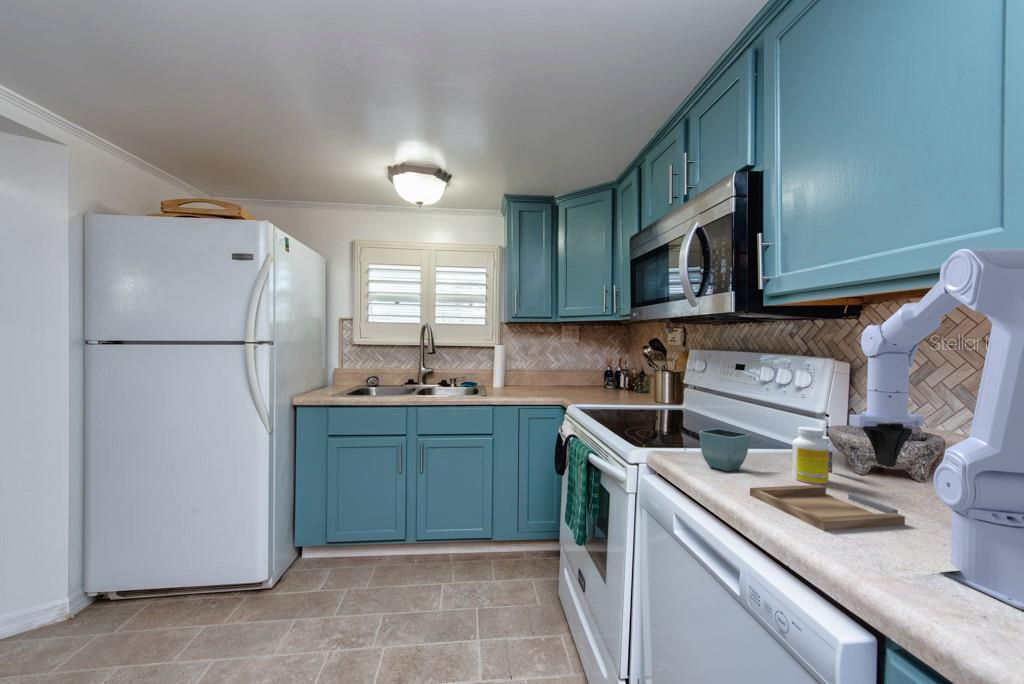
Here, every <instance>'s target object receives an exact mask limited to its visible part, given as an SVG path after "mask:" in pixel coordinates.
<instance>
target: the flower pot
mask: <svg viewBox="0 0 1024 684" xmlns="http://www.w3.org/2000/svg"><path fill="white" fill-rule="evenodd" d="M698 434H699V443H700V451H701V454H702V457H703V459H704V461H705V462H706V464H707V465H708V467H710V468H712V467H713V468H714V469H716V470H717V469H718V470H721V471H723V472H731V471H736V470H739V469H740V468H741V466H742V465H743V463H744V462H745V460H746V458H747V456H748V455H747V454H748V451H749V446H750V445H749V444H750V441H751V440H750V439H751V434H748V433H744V432H738V431H733V430H727V429H723V428H722V429H721V428H712V429H706V430H699V431H698Z"/></svg>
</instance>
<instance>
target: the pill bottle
mask: <svg viewBox="0 0 1024 684" xmlns="http://www.w3.org/2000/svg"><path fill="white" fill-rule="evenodd" d="M822 440H823V441H824V442H826V443H827V444H828V446H829V445H830V437H829V436H825V435H823V437H822ZM833 452H834V451H833V448H832V447H831V446H829V467H828V474H829V473H830V474H833V457H834V456H833V455H834V454H833Z"/></svg>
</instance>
